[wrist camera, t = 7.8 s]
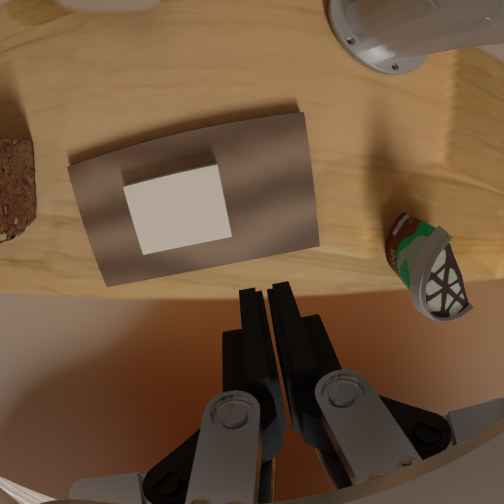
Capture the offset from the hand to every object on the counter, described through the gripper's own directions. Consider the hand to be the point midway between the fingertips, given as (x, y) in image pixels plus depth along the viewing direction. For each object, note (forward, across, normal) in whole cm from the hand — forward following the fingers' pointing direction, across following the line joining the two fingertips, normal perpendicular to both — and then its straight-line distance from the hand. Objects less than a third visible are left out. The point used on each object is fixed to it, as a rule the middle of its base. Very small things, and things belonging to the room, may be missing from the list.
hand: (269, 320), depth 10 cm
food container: (+22, -18, +12) cm, 31 cm away
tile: (+20, +2, +1) cm, 20 cm away
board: (+22, +5, +1) cm, 22 cm away
